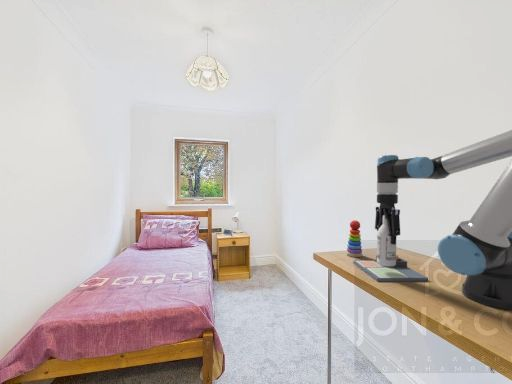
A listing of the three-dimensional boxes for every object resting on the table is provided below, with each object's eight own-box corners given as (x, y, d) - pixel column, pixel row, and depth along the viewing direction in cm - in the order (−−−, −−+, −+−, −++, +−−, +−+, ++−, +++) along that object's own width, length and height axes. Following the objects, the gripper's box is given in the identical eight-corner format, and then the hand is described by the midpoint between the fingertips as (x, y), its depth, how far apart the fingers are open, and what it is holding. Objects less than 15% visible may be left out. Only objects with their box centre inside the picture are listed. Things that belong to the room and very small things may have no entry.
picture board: (428, 280, 93) (428, 271, 93) (376, 281, 93) (377, 271, 92) (394, 262, 115) (394, 255, 115) (353, 263, 115) (353, 255, 114)
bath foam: (398, 264, 98) (399, 215, 98) (391, 268, 94) (392, 217, 93) (381, 260, 103) (381, 214, 103) (373, 263, 99) (374, 215, 99)
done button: (400, 262, 106) (401, 256, 106) (388, 262, 106) (388, 256, 106) (393, 258, 112) (393, 253, 112) (381, 258, 112) (381, 253, 112)
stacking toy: (343, 255, 127) (344, 220, 127) (349, 252, 133) (350, 218, 133) (359, 258, 122) (359, 221, 122) (364, 255, 128) (364, 220, 127)
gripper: (412, 194, 88) (411, 256, 89) (383, 192, 108) (382, 243, 108) (392, 194, 88) (391, 256, 88) (366, 193, 108) (366, 243, 108)
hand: (386, 249), depth 98 cm, fingers closed on bath foam, 7 cm apart
